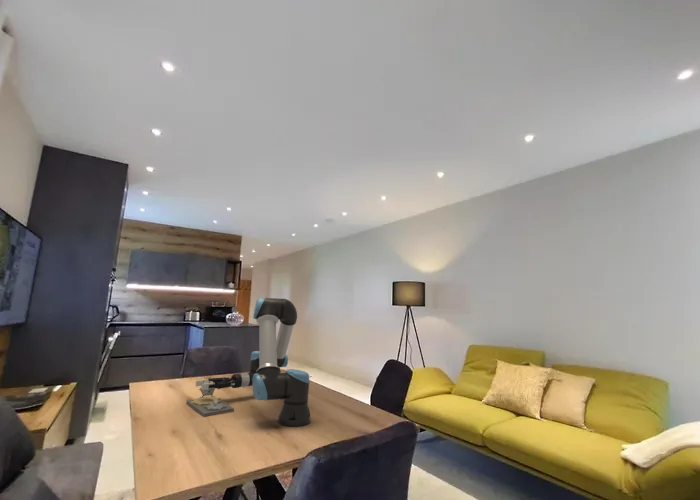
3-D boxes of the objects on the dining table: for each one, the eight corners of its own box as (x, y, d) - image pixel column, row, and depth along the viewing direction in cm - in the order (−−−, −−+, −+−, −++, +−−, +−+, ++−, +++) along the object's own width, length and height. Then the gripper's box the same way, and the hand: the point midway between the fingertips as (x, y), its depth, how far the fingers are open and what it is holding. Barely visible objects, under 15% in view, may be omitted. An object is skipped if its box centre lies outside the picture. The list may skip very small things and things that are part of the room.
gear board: (233, 411, 168) (234, 401, 169) (203, 416, 158) (204, 405, 159) (214, 399, 187) (215, 390, 188) (186, 403, 177) (187, 393, 178)
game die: (208, 404, 175) (212, 391, 171) (193, 397, 175) (197, 384, 172) (217, 392, 183) (221, 379, 180) (204, 385, 184) (207, 372, 180)
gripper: (247, 391, 182) (205, 397, 167) (231, 383, 197) (191, 388, 182) (248, 377, 184) (206, 381, 168) (232, 370, 199) (193, 374, 184)
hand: (198, 385), depth 175 cm, fingers closed on game die, 8 cm apart
